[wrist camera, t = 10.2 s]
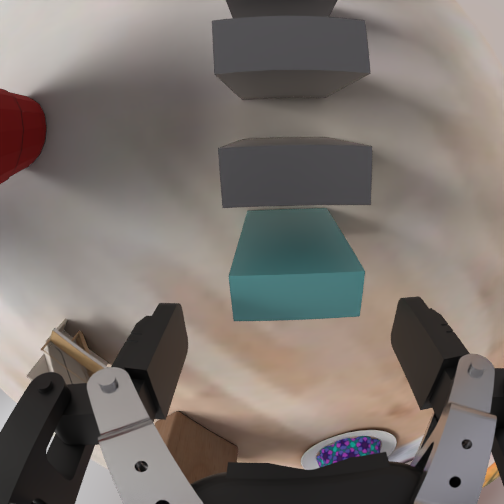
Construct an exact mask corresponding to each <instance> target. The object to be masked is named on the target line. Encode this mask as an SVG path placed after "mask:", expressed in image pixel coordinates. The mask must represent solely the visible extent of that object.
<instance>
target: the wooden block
mask: <svg viewBox="0 0 504 504" xmlns="http://www.w3.org/2000/svg"><path fill="white" fill-rule="evenodd" d="M155 427H156V429H157V430H158V432H159V434H160V436H161V438H162V439H163V441H164V443H165V445H166V446H167V448H168V450H169V451H170V453H171V455H172V456H173V458H174V460H175V461H176V463H177V465H178V466H179V468H180V469H181V471H182V473H183V474H184V476H185V477H186V479H187V480H188V482H189V483H190V484H192V483H193V482H195V481H198V480H200V479H202V478H204V477H207V476H210V475H214V474H218V473H223V472H227V466H228V462H237V453H238V447H237V446H235V445H233V444H232V443H230V442H228V441H226V440H224V439H223V438H221V437H219V436H217V435H216V434H214V433H212V432H211V431H209V430H207V429H206V428H204V427H202V426H201V425H199V424H198V423H196V422H194V421H193V420H191V419H190V418H188V417H186V416H185V415H183V414H182V413H180V412H175V413H173V414H171V415H169V416H167V417H166V420H162V419H161V420H159V421H157V422H156V423H155Z"/></svg>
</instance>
